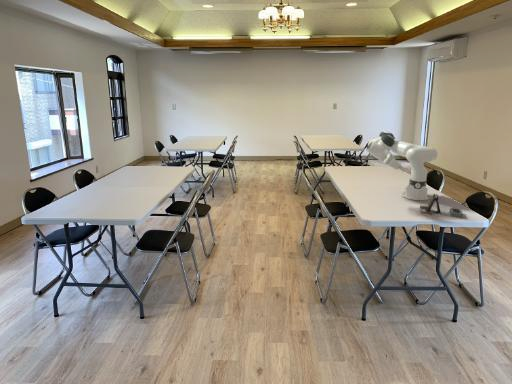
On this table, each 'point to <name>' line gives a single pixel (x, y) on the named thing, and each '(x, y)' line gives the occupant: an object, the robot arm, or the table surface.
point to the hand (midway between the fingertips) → (405, 170)
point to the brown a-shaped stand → (432, 204)
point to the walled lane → (424, 211)
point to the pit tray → (456, 213)
